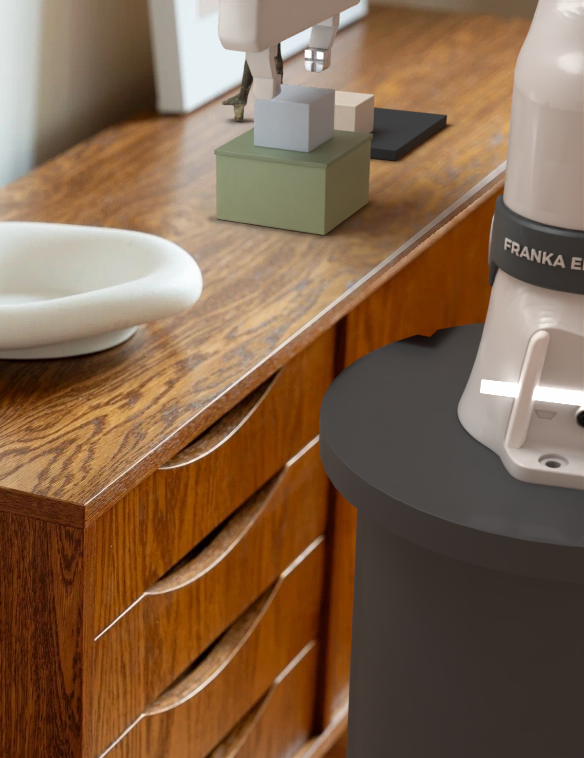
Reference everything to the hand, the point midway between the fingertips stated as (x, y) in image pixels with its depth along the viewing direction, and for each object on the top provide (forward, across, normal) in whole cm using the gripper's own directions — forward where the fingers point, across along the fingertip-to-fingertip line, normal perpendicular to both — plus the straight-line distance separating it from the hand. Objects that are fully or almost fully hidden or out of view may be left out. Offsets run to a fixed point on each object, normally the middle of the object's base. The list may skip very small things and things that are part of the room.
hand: (292, 83), depth 123 cm
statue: (+11, +24, +16) cm, 31 cm away
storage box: (+11, 0, 0) cm, 11 cm away
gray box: (+5, 0, 0) cm, 5 cm away
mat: (+11, +23, +2) cm, 25 cm away
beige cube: (+10, +19, +4) cm, 22 cm away
